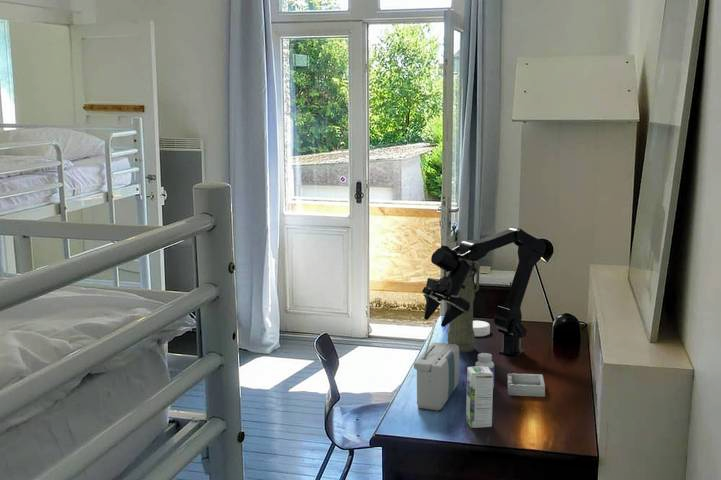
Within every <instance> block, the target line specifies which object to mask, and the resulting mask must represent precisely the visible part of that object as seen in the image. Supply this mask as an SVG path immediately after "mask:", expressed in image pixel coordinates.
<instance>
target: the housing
mask: <svg viewBox="0 0 721 480" xmlns="http://www.w3.org/2000/svg"><path fill="white" fill-rule="evenodd" d="M545 385H546V384H545V379H544V375H543V374H540V373H539V374H537V373H535V374H533V373H510V372H507V391H508V392H507V394H508V396H517V397H519V396H520V397H540V398H541V397H546V386H545Z"/></svg>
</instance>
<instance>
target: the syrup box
mask: <svg viewBox="0 0 721 480" xmlns="http://www.w3.org/2000/svg"><path fill="white" fill-rule="evenodd" d="M466 374H467V375H466V377H467V378H466V402H465V403H466V404H465V405H466V407H465V409H466V410H465V415H466V416H465V418H466V422H467V424H468V425H469V427H470V429H476V428H477V429H478V428H491V427H493V402H494V401H493V399H494V398H493V392H494V387H493V373H492V372H491V370H490V369H489V368H488V367H484V366H467V371H466Z"/></svg>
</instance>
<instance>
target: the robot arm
mask: <svg viewBox="0 0 721 480" xmlns="http://www.w3.org/2000/svg"><path fill="white" fill-rule="evenodd" d="M510 244H514V245H515V246H516V247H517V257H518V264H517V267H516V270H515V273H514V276H513V279H512V282H511V284H510V288H509V292H508V295H507V296H506V297H507V298H506V300H505V303H504V304H502V306H501V305H497V307H496V310H495V313H494V315H493V318H494V320H493V322H494V325H495V327H496V328H497V332H498V333H500V334H502V349H501V350H499V351H498V354H504V355H510V356H513V357H514V356H515V357H518V356H520V355H521V354H522V353H523V352H525V349H524V348H521V339H523V338H525V337H527V333H528V330H527V328H525V326H524V325H523V324H522V318H523V316H522V310H521V306H522V304H523V300H524V297H525V294H526V291H527V287H528V285H529V282H530V278H531V276H532V271H533V269H534V266H535V265H536V264H538V262H539V261H540V260H541V259H542V258H543V256H544V253H545V250H546V244H545V242H544V240H543V239H541V238H537V237H536V236H533V235H531V234H529V233H528V232H526V231H525V230H523V229H522V228H518V227H510V228H508V229H505V230H502V231H499V232H497V233H495V234H491V235H489V236H487V237H483V238H478V239H468V240H462V241H461V242H459V245H457V246H458V247H456V248H454V249H452V248H450V247H449V246H448V245H446V244H441V246H440V247H439V248H437V249H436V250H435V251H434V252H433V253H432V255H431V258H430V260H431V263H432V264H433V265H434V266H437V267H438V268H440V269H441V270H442V271H443V272H444V271H446V273H447V274H446V276H444V275H443V276H442V277H440V278H439V279H438V278H431V277H428V278H427V279H426V285H425V286H424V287H423V289H422V291H421V293H422V294H423V297H424V300H425V302H426V303H425V310H424V317H423V319H424V320H425V321H427V320H429V319H430V317H432V315H433V314H434V313H435V312H436V311H437V309H438V308H439V307H440V305H442V304H441V301H445V302H446V307H447V309H446V312H445V313H444V315H443V318H442V320H441V325H440V326H441V327H443V328H445V327H446V326H447V325H449V323H450V322H451V321H452V320H454V319H455V318H456V317H458V316H459V315H461V314H462V313H465V312H464V311H466V312H468V311H469V309H470V307H471V305H470V302H468V301H466V300H465V299H463V298H461V297H459V296H458V294H459V292H460V290H461V289H465V287H466V286H464V283H465V281H466V279H467V277H468V275H469V273H470V271H472V273H476V272H477V270H476V265H475V264H474V263H468V262H467V261H465V260H470V261H477V262H478V261H480V260H482V259H483V258H485V257H486V256H487V254H488V253H489V252H491V251H494V250H497V249H499V248H502V247H504V246H508V245H510ZM459 258H461V259H465V260H459ZM448 298H449V299H448ZM449 302H450V303H452V304H450V303H449Z"/></svg>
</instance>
